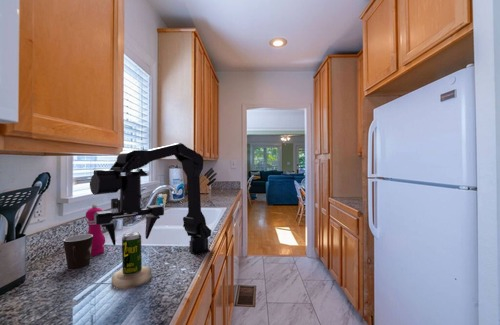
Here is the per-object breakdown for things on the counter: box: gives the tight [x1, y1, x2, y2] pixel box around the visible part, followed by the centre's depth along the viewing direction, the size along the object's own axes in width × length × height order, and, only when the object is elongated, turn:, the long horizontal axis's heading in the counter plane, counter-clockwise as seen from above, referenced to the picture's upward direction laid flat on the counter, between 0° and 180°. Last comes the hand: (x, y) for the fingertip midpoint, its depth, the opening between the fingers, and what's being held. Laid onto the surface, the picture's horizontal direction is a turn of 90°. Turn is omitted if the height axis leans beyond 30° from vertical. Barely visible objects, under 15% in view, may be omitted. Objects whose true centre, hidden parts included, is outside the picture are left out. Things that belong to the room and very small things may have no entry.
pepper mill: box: [85, 203, 106, 257], centre depth 97 cm, size 7×7×20 cm
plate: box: [111, 265, 152, 290], centre depth 74 cm, size 11×11×2 cm
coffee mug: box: [63, 233, 93, 271], centre depth 83 cm, size 12×9×10 cm
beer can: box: [121, 231, 143, 276], centre depth 74 cm, size 5×5×12 cm
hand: (131, 241), depth 74 cm, fingers open, 9 cm apart
